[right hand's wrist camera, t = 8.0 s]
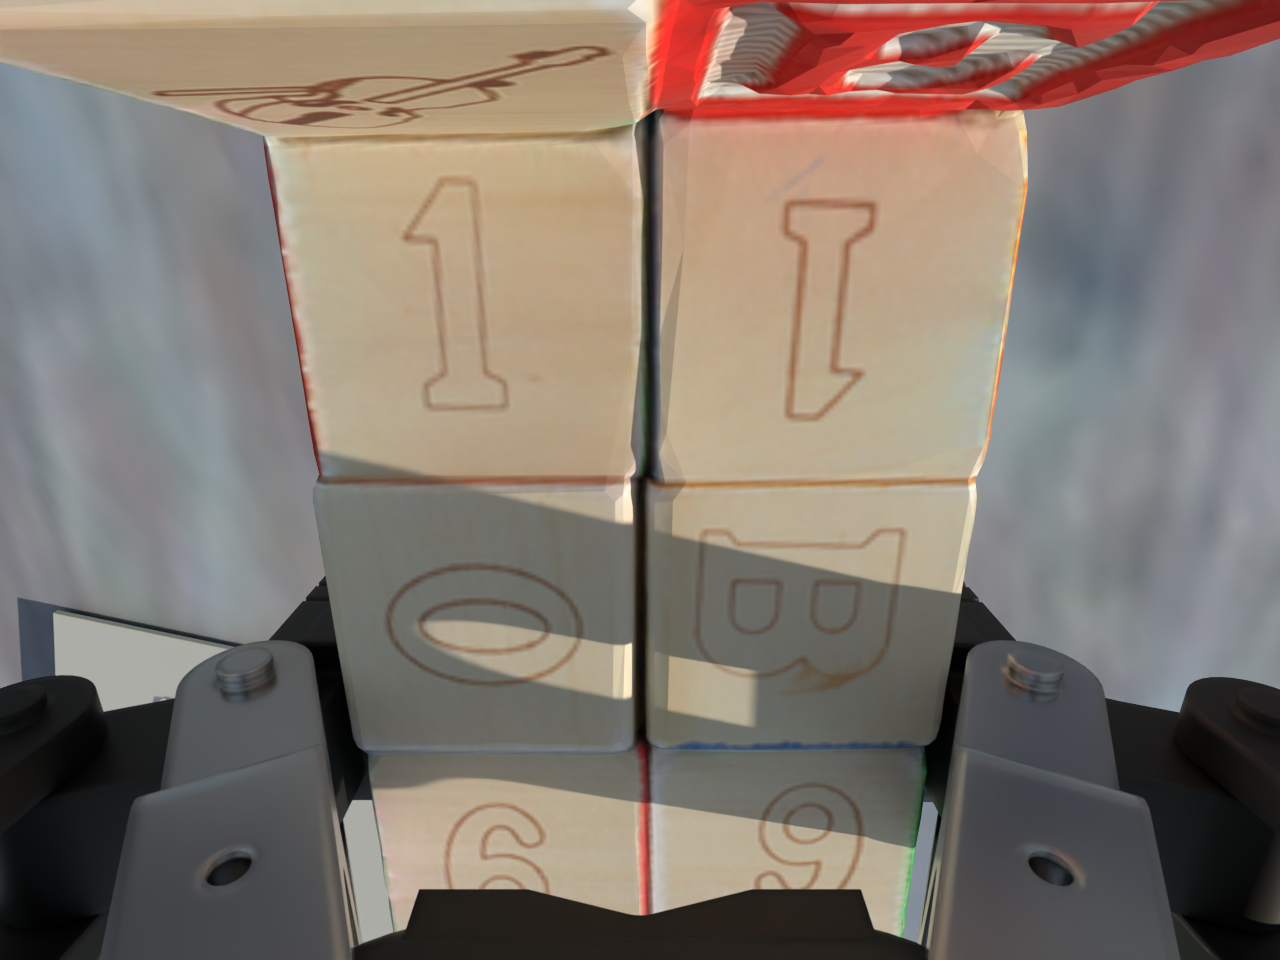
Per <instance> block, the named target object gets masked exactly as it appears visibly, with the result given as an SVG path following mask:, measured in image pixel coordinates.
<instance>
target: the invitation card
mask: <svg viewBox="0 0 1280 960" xmlns="http://www.w3.org/2000/svg"><path fill="white" fill-rule="evenodd" d="M53 621H54V648H55V674H56V676H57V675H73V676H80V677H83V678H86V679H88V680H90V681H91V682H93V683H94V685H95V687H96V689H97V692H98V696H99V699H100V702H101V705H102V708H103V711H104V712H105V711H110V710H115V709H121V708H126V707H131V706H136V705H142V704H147V703H152V702H158V701H163V700H168V699H172V698H175V694H176V690H177V687H178V684H179V683H180V681H181V680H182V678H183V677H184V676H185V675H186V674H187V673H188V672H189V671H190V670H192V669H193V668H194V667H195V666H197V665H198V664H200V663H201V662H203V661H204V660H206V659H208V658H210V657H212V656H214V655H216V654H218V653H220V652H223V651H225V650H228V649H231V648H234V647H233V646H228V645H223V644H219V643H214V642H209V641H204V640H199V639H194V638H190V637H185V636H180V635H175V634H170V633H166V632H161V631H156V630H151V629H146V628H142V627H137V626H132V625H127V624H122V623H118V622H113V621H108V620H103V619H98V618H94V617H89V616H84V615H79V614H74V613H69V612H65V611H60V610H57V611H55V612H54V613H53ZM343 821H344V826H345V831H346V837H347V843H348V850H349V856H350V863H351V869H352V876H353V882H354V889H355V895H356V902H357V909H358V915H359V922H360V928H361V935H362V941H363V943H364V942H367V941H370V940H373V939H376V938H378V937H381V936H384V935H387V934H390V933H393V926H392V921H391V915H390V909H389V898H388V892H387V889H386V886H385V882H384V873H383V865H382V858H381V850H380V843H379V838H378V833H377V828H376V823H375V816H374V810H373V804H372V800H352V802H351V804H350V806H349V808H348V810H347V812H346V814H345V817H344V819H343Z"/></svg>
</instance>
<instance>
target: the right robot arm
mask: <svg viewBox="0 0 1280 960" xmlns="http://www.w3.org/2000/svg"><path fill="white" fill-rule="evenodd" d="M925 756H926V768H927V775H926V779H925V784H924V798H923V802H933V803H934V805H935V807H936V809H937V811H938V815H937V821H936V826H935V831H934V837H933V843H932V850H931V856H930V863H929V869H928V876H927V882H926V889H925V895H924V902H923V908H922V915H921V921H920V928H919V934H918V941H917V943H916V942H913V941H910V940H907V939H904V938H902V937H899V936H896V935H893V934H890V933H887V932H883V931H880V930H876V929H874V927H873V924H872V921H871V918H870V915H869V912H868V909H867V906H866V903H865V900H864V897H863V894H862V891H861V889H751V890H747V891H743V892H739V893H735V894H731V895H727V896H723V897H719V898H715V899H711V900H707V901H702V902H698V903H694V904H690V905H686V906H682V907H678V908H674V909H670V910H666V911H662V912H658V913H654V914H648V915H632V914H626V913H622V912H618V911H614V910H610V909H606V908H602V907H598V906H594V905H590V904H586V903H582V902H578V901H573V900H569V899H565V898H561V897H557V896H553V895H549V894H545V893H541V892H537V891H533V890H529V889H419V891H418V894H417V897H416V900H415V903H414V906H413V909H412V912H411V915H410V918H409V921H408V924H407V927H406V929H404V930H401V931H397V932H393V933H390V934H387V935H384V936H381V937H378V938H376V939H373V940H370V941H367V942H364V943H363V941H362V935H361V928H360V922H359V915H358V909H357V902H356V895H355V889H354V882H353V876H352V869H351V863H350V856H349V850H348V843H347V837H346V831H345V826H344V821H343V819H344V817H345V814H346V812H347V810H348V808H349V806H350V804H351V802H352V800H372V797H371V789H370V780H369V763H368V754H367V753H366V752H364V751H363V750H362V749H360V748H359V747H357V745H356V743H355V741H354V739H353V734H352V728H351V722H350V717H349V711H348V705H347V699H346V693H345V687H344V682H343V676H342V670H341V664H340V658H339V652H338V647H337V641H336V635H335V629H334V623H333V617H332V611H331V605H330V599H329V593H328V587H327V581H326V576H325V577H324V578H323V579H322V580H321V581H320V582H319V586H316V587H315V588H314V589H313V590H312V592H311V593H310V594H309V595H308V596H307V597H306V601H303V602H302V603H301V604H300V605H299V606H298V607H297V609H296V610H295V611H294V612H293V613H292V614H291V615H290V617H289V618H288V619H287V620H286V621H285V622H284V623H283V625H282V626H281V627H280V628H279V629H278V630H277V631H276V633H275V634H274V635H273V636H272V637H271V638H270V639H269V641H259V642H254V643H248V644H244V645H241V646H237V647H234V648H231V649H228V650H225V651H223V652H220V653H218V654H216V655H214V656H212V657H210V658H208V659H206V660H204V661H203V662H201V663H200V664H198V665H197V666H195V667H194V668H193V669H192V670H190V671H189V672H188V673H187V674H186V675H185V676H184V677H183V678H182V680H181V681H180V683H179V684H178V687H177V690H176V694H175V698H172V699H168V700H163V701H158V702H152V703H147V704H142V705H136V706H131V707H126V708H121V709H115V710H110V711H105V712H104V711H103V708H102V705H101V702H100V699H99V696H98V692H97V689H96V687H95V685H94V683H93V682H91V681H90V680H88V679H86V678H83V677H80V676H73V675H57V676H47V677H41V678H35V679H31V680H26V681H22V682H19V683H16V684H12V685H9V686H6V687H3V688H1V689H0V960H1280V689H1277V688H1274V687H1271V686H1267V685H1264V684H1260V683H1256V682H1252V681H1248V680H1242V679H1236V678H1226V677H1210V678H1203V679H1200V680H1197V681H1195V682H1193V683H1192V684H1190V685H1189V687H1188V689H1187V691H1186V694H1185V697H1184V701H1183V704H1182V707H1181V710H1180V713H1179V712H1173V711H1168V710H1163V709H1158V708H1152V707H1147V706H1142V705H1136V704H1131V703H1126V702H1121V701H1116V700H1112V699H1107V698H1105V695H1104V690H1103V687H1102V684H1101V683H1100V681H1099V680H1098V678H1097V677H1096V676H1095V675H1094V674H1093V673H1092V672H1091V671H1090V670H1088V669H1087V668H1086V667H1085V666H1083V665H1082V664H1080V663H1079V662H1077V661H1076V660H1074V659H1072V658H1070V657H1068V656H1066V655H1064V654H1062V653H1060V652H1057V651H1055V650H1052V649H1049V648H1046V647H1043V646H1039V645H1036V644H1032V643H1026V642H1021V641H1016V640H1015V639H1014V638H1013V637H1012V636H1011V634H1010V633H1009V632H1008V631H1007V630H1006V629H1005V628H1004V627H1003V625H1002V624H1001V623H1000V622H999V621H998V620H997V619H996V618H995V616H994V615H993V614H992V613H991V612H990V611H989V610H988V609H987V607H986V606H985V605H984V604H983V603H982V602H979V598H978V597H977V596H976V595H975V594H974V593H973V592H972V590H971V589H970V588H969V587H966V586H965V583H964V581H963V586H962V593H961V600H960V606H959V613H958V620H957V627H956V633H955V640H954V645H953V651H952V656H951V661H950V667H949V672H948V678H947V683H946V689H945V697H944V704H943V711H942V719H941V723H940V727H939V731H938V734H937V737H936V739H935V740H934V741H932V742H931V743H930V744H929V745H926V746H925Z"/></svg>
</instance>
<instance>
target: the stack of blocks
mask: <svg viewBox="0 0 1280 960" xmlns="http://www.w3.org/2000/svg"><path fill="white" fill-rule="evenodd" d="M1277 39H1280V0H0V62H3V63H7V64H10V65H14V66H17V67H21V68H24V69H28V70H31V71H35V72H38V73H42V74H46V75H49V76H53V77H56V78H60V79H63V80H67V81H71V82H74V83H78V84H82V85H85V86H89V87H93V88H96V89H100V90H104V91H107V92H111V93H115V94H119V95H122V96H126V97H130V98H133V99H137V100H141V101H144V102H148V103H152V104H156V105H159V106H163V107H167V108H170V109H174V110H178V111H181V112H185V113H188V114H191V115H195V116H198V117H202V118H205V119H209V120H212V121H216V122H219V123H222V124H226V125H229V126H233V127H236V128H240V129H243V130H246V131H249V132H253V133H256V134H259V135H262V136H263V142H264V150H265V158H266V165H267V172H268V179H269V184H270V190H271V195H272V201H273V207H274V213H275V219H276V225H277V231H278V237H279V243H280V249H281V255H282V261H283V267H284V273H285V279H286V285H287V291H288V297H289V303H290V309H291V315H292V320H293V326H294V332H295V338H296V344H297V350H298V356H299V362H300V369H301V375H302V381H303V387H304V394H305V400H306V406H307V413H308V419H309V425H310V431H311V437H312V443H313V449H314V454H315V458H316V462H317V466H318V470H319V474H320V475H319V477H318V479H317V481H316V483H315V485H314V488H313V503H314V509H315V515H316V521H317V527H318V533H319V539H320V545H321V551H322V557H323V563H324V569H325V575H326V581H327V587H328V593H329V599H330V605H331V611H332V617H333V623H334V629H335V635H336V641H337V647H338V652H339V658H340V664H341V670H342V676H343V682H344V687H345V693H346V699H347V705H348V711H349V717H350V722H351V728H352V734H353V739H354V741H355V743H356V745H357V747H359V748H360V749H362V750H363V751H364V752H366V753H367V754H368V763H369V780H370V789H371V797H372V804H373V810H374V816H375V823H376V828H377V833H378V838H379V843H380V850H381V858H382V865H383V873H384V882H385V886H386V889H387V892H388V898H389V909H390V915H391V921H392V926H393V932H397V931H401V930H404V929H406V927H407V924H408V921H409V918H410V915H411V912H412V909H413V906H414V903H415V900H416V897H417V894H418V891H419V889H529V890H533V891H537V892H541V893H545V894H549V895H553V896H557V897H561V898H565V899H569V900H573V901H578V902H582V903H586V904H590V905H594V906H598V907H602V908H606V909H610V910H614V911H618V912H622V913H626V914H632V915H648V914H654V913H658V912H662V911H666V910H670V909H674V908H678V907H682V906H686V905H690V904H694V903H698V902H702V901H707V900H711V899H715V898H719V897H723V896H727V895H731V894H735V893H739V892H743V891H747V890H751V889H861V891H862V894H863V897H864V900H865V903H866V906H867V909H868V912H869V915H870V918H871V921H872V924H873V927H874V929H876V930H880V931H883V932H887V933H890V934H893V935H896V936H899V937H902V935H903V933H904V923H905V913H906V907H907V901H908V894H909V888H910V882H911V875H912V868H913V861H914V854H915V847H916V841H917V836H918V831H919V826H920V820H921V813H922V806H923V798H924V784H925V779H926V775H927V768H926V756H925V746H926V745H929V744H930V743H931V742H932V741H934V740H935V739H936V737H937V734H938V731H939V727H940V723H941V719H942V711H943V704H944V697H945V689H946V683H947V678H948V672H949V667H950V661H951V656H952V651H953V645H954V640H955V633H956V627H957V620H958V613H959V606H960V600H961V593H962V586H963V579H964V573H965V566H966V560H967V555H968V550H969V544H970V539H971V534H972V529H973V524H974V517H975V509H976V501H977V495H976V485H975V478H976V476H977V474H978V472H979V470H980V468H981V466H982V464H983V462H984V458H985V454H986V450H987V447H988V444H989V441H990V438H991V425H992V417H993V412H994V406H995V401H996V396H997V390H998V384H999V377H1000V371H1001V365H1002V358H1003V352H1004V346H1005V339H1006V332H1007V324H1008V316H1009V309H1010V301H1011V293H1012V287H1013V280H1014V273H1015V266H1016V259H1017V253H1018V246H1019V239H1020V232H1021V226H1022V219H1023V213H1024V206H1025V200H1026V193H1027V187H1028V169H1027V131H1026V125H1025V120H1024V114H1023V110H1032V109H1041V108H1050V107H1059V106H1063V105H1066V104H1069V103H1072V102H1075V101H1078V100H1081V99H1085V98H1088V97H1091V96H1094V95H1097V94H1100V93H1103V92H1106V91H1110V90H1113V89H1116V88H1118V87H1121V86H1123V85H1126V84H1128V83H1131V82H1133V81H1135V80H1139V79H1143V78H1146V77H1150V76H1154V75H1158V74H1161V73H1165V72H1169V71H1173V70H1176V69H1179V68H1182V67H1185V66H1188V65H1191V64H1194V63H1197V62H1200V61H1203V60H1209V59H1214V58H1219V57H1225V56H1230V55H1233V54H1236V53H1239V52H1242V51H1245V50H1248V49H1251V48H1254V47H1256V46H1259V45H1262V44H1265V43H1268V42H1271V41H1274V40H1277Z"/></svg>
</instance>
